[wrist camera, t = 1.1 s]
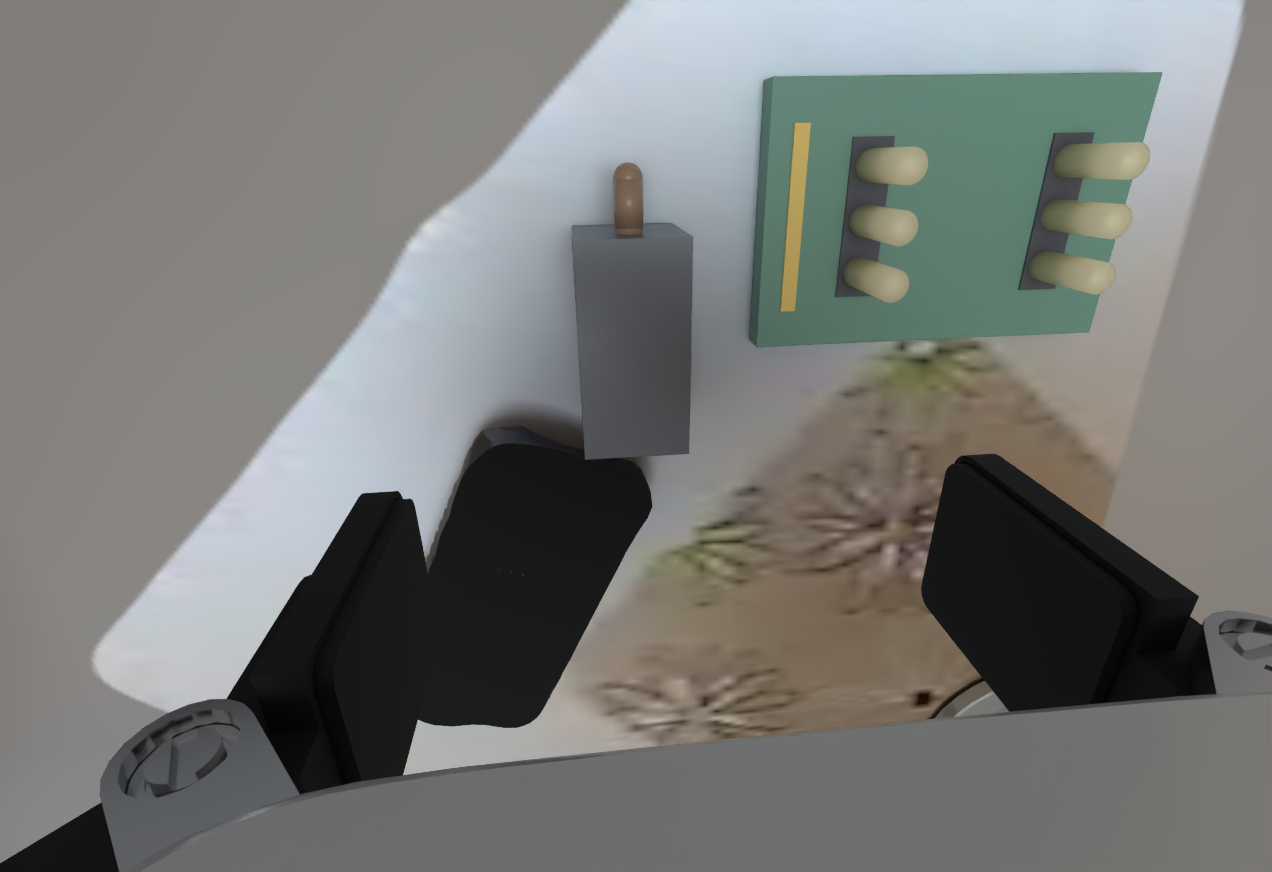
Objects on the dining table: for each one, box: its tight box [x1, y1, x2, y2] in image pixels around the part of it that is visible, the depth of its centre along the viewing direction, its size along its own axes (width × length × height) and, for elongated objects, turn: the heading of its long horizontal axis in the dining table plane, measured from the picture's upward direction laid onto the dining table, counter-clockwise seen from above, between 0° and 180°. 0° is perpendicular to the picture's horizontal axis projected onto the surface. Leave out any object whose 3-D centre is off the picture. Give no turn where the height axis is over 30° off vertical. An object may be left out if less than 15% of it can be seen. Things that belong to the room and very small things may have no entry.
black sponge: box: [418, 426, 652, 728], centre depth 30 cm, size 16×8×4 cm, turn 155°
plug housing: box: [572, 162, 693, 460], centre depth 24 cm, size 10×4×5 cm, turn 1°
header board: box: [749, 72, 1162, 347], centre depth 24 cm, size 10×15×4 cm, turn 91°
